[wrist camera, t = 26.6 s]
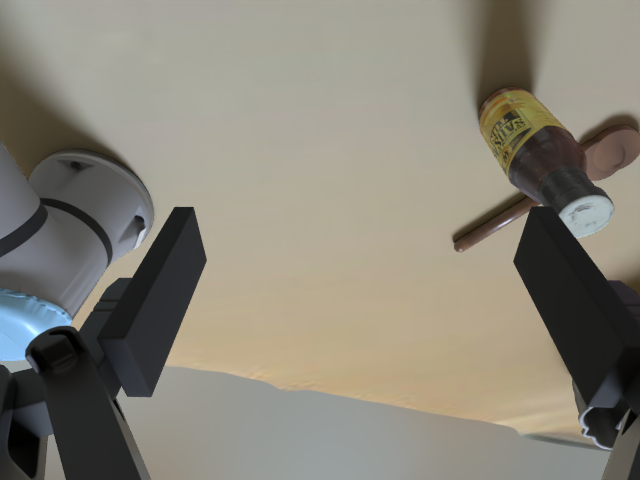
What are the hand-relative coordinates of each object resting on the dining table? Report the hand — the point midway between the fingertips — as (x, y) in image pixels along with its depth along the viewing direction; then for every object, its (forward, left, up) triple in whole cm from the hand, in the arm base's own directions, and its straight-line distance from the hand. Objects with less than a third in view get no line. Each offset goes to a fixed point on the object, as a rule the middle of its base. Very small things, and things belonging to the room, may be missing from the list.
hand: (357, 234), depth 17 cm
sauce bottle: (+10, -16, -33) cm, 38 cm away
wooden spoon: (+10, -28, -33) cm, 44 cm away
